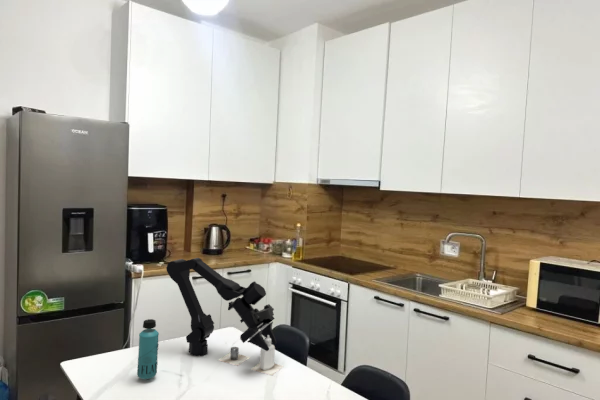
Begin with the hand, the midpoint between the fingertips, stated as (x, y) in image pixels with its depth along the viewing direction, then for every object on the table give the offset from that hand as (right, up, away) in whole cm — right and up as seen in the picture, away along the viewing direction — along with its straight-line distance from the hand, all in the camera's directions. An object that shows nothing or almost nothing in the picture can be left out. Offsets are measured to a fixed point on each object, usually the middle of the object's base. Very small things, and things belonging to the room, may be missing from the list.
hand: (272, 346), depth 147 cm
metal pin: (-15, -7, +7) cm, 18 cm away
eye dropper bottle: (-2, -8, +1) cm, 8 cm away
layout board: (-9, -8, +3) cm, 13 cm away
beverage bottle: (-42, -7, -11) cm, 44 cm away
